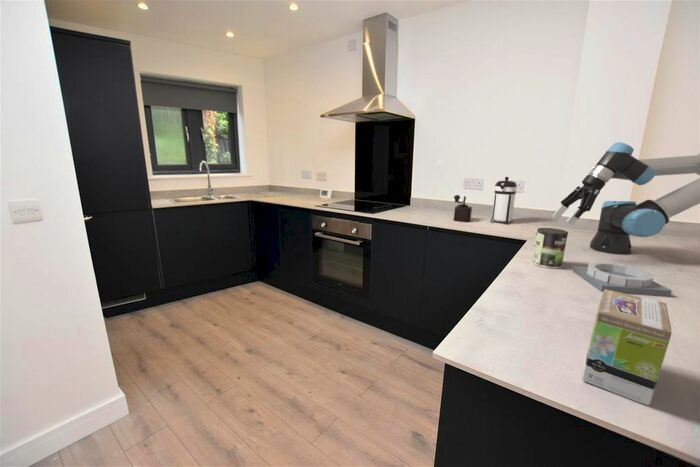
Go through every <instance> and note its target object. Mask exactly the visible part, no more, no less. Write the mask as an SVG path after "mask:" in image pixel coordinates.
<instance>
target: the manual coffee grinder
mask: <svg viewBox="0 0 700 467" xmlns="http://www.w3.org/2000/svg"><path fill="white" fill-rule="evenodd" d="M453 198H454V203H457V204H458V205H456V206H455V207H454V214H453V221H454V222H460V223H470V222H471V221H472V214H473V213H472V212H473V206H469V205H468V204H466V200H467V196H466V195H465V196H464V197H463V200H462V201H460V199H461V196H460V195H459V194H455V195H454V196H453Z"/></svg>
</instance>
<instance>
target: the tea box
mask: <svg viewBox="0 0 700 467" xmlns="http://www.w3.org/2000/svg"><path fill="white" fill-rule="evenodd" d="M671 325H672V324H671V321H670V316H669V311H668V306H667V303H666V302H663V301H659V300H655V299H651V298H646V297H643V296H642V297H641V296H637V295H634V294H627V293H620V292H616V291H611V290H606V289H605V290H604V292H602V296H601V297H600V301H599V304H598V308H597V312H596V316H595V319H594V323H593V327H592V332H591V336H590V340H589V345H588V349H587V354H586V357H585V358H586V359H585V362H584V369H583V375H582V379H581V380H582V381H584V382H585V383H589V384H591V385H593V386H596V387H597V388H598V387H599V388H601V389H603V390H605V391H607V392H608V391H609V392H610V393H614V394H615V395H618V396H622V397H623V398H626V399H630V400H631V401H635V402H636V403H638V404H639V403H640V404H642V405H645V406H649V405H650V404H651V403H652V400H653V396H654V393H655V389H656V385H657V383H658V379H659V376H660V372H661V369H662V367H663V363H664V361H665V357H666V354H667V350H668V348H669V347H668V346H669V343H670V341H671V336H672V326H671Z"/></svg>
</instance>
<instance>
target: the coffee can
mask: <svg viewBox="0 0 700 467" xmlns="http://www.w3.org/2000/svg"><path fill="white" fill-rule="evenodd" d="M536 232H537V235H536V236H537V237H536V238H535V244H534V245H535V246H534V253H533V258H532V264H533V265H535V266H538V267H542V268H545V269H551V270H552V269H555V270H556V269H557V270H558V269H561V268H562V267H563V263H564V262H563V260H564V256H565V252H566V251H565V250H566V245H567V240H568V234H569V232H568V231H567V230H564V229H560V228H552V227H539V228H537V231H536Z"/></svg>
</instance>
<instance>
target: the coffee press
mask: <svg viewBox="0 0 700 467" xmlns="http://www.w3.org/2000/svg"><path fill="white" fill-rule="evenodd" d="M504 179H505V180H499V181H497V182H496V183H495V185H494V186H495V188H494V198H493V205H492V206H493V207H492V213H491V214H492V217H491V219H490V221H489V222H490V223H492V224H493V223H494V222H496V221H497V222H503V223H504V224H505V225H509V223H513V214H514V206H515V198H516V193H517V191H516V190H517V187H518V185H517V182H515V181H513V180H509V176H505V177H504Z"/></svg>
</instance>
